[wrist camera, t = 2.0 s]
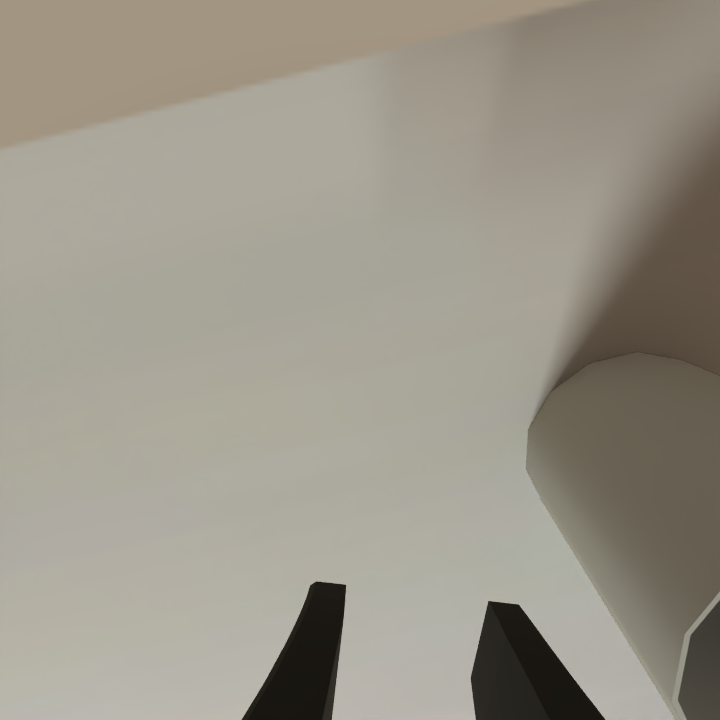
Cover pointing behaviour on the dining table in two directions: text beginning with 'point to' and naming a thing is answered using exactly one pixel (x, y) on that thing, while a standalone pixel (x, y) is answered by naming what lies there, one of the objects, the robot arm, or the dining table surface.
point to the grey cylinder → (643, 510)
